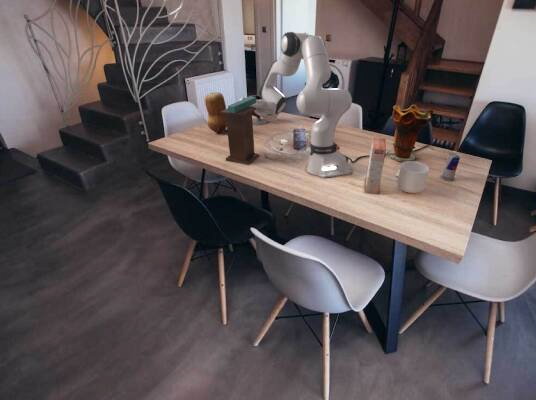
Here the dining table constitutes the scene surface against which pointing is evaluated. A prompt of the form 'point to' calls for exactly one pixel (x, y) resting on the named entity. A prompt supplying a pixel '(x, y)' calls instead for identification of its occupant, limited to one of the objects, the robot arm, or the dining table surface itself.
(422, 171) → the handleless ceramic cup
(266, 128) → the dining table surface
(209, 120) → the butternut squash
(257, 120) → the mate gourd
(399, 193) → the dining table surface
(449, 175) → the energy drink
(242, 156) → the plinth
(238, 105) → the batten
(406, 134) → the decorative vase
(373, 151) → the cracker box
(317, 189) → the dining table surface
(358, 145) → the dining table surface
